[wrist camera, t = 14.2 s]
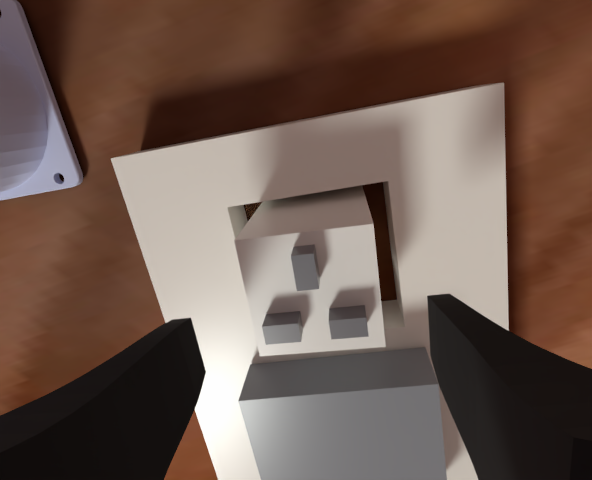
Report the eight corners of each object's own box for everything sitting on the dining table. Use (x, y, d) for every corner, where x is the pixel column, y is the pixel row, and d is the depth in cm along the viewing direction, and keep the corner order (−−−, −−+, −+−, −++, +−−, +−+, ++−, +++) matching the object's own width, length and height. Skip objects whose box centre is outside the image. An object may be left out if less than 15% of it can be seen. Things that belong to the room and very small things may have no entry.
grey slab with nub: (283, 488, 21) (275, 549, 18) (250, 364, 18) (234, 411, 16) (438, 481, 20) (455, 544, 17) (425, 347, 17) (442, 395, 14)
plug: (281, 283, 20) (255, 370, 14) (265, 197, 18) (227, 249, 12) (371, 274, 19) (388, 361, 13) (361, 184, 18) (375, 231, 11)
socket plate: (239, 472, 24) (229, 512, 22) (139, 150, 18) (110, 158, 16) (493, 458, 22) (511, 501, 20) (479, 84, 16) (503, 82, 14)
